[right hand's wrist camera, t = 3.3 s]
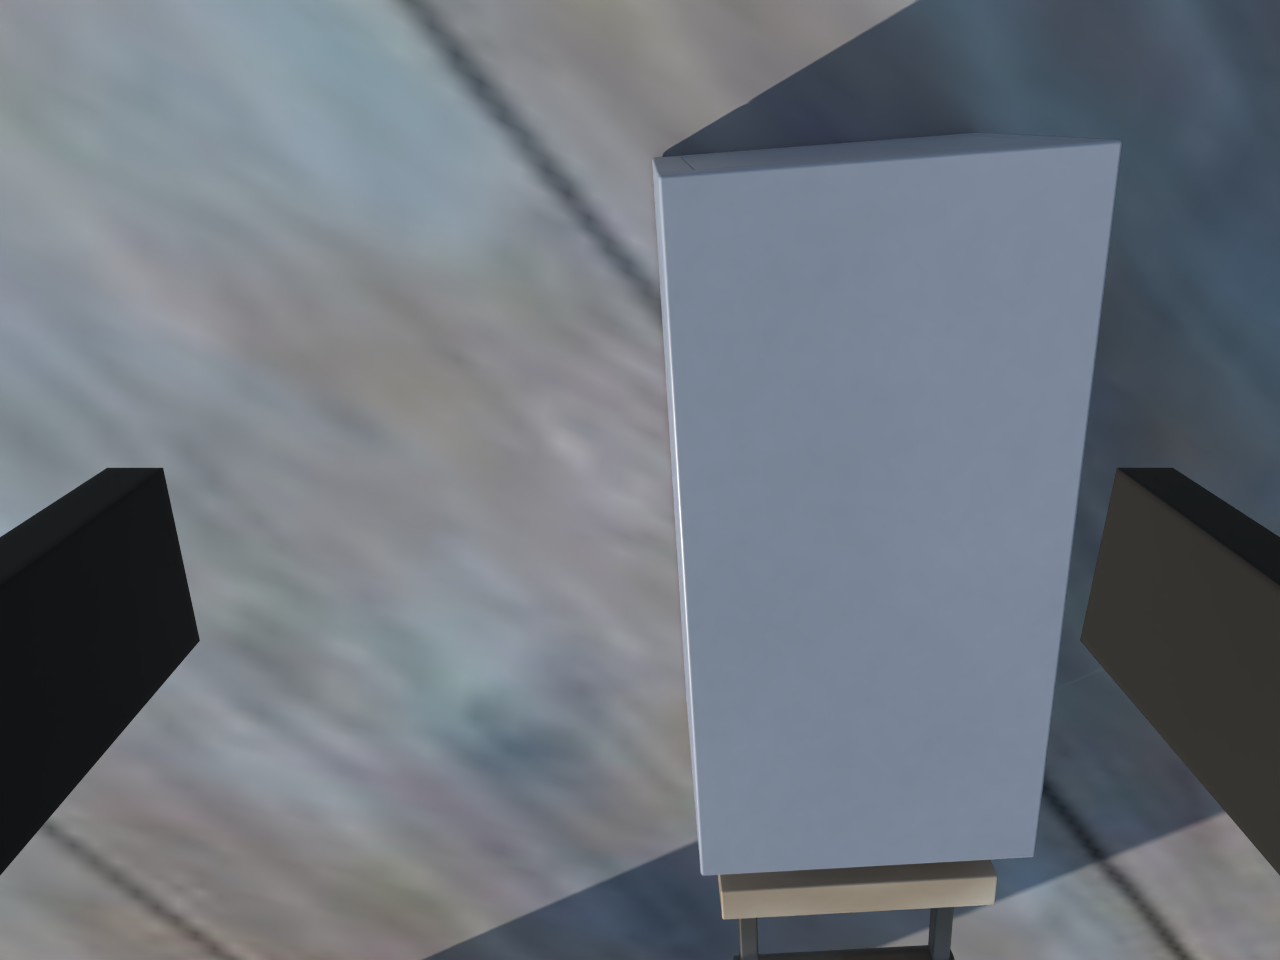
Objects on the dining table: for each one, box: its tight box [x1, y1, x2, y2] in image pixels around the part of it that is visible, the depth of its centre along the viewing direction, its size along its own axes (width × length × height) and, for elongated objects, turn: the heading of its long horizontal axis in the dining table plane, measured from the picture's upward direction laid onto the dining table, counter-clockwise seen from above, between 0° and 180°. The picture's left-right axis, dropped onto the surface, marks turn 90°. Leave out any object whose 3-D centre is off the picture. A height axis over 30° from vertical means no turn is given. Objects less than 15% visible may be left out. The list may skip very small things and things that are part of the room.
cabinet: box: [652, 133, 1122, 876], centre depth 26 cm, size 20×10×8 cm, turn 4°
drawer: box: [718, 860, 998, 960], centre depth 29 cm, size 24×8×7 cm, turn 4°
